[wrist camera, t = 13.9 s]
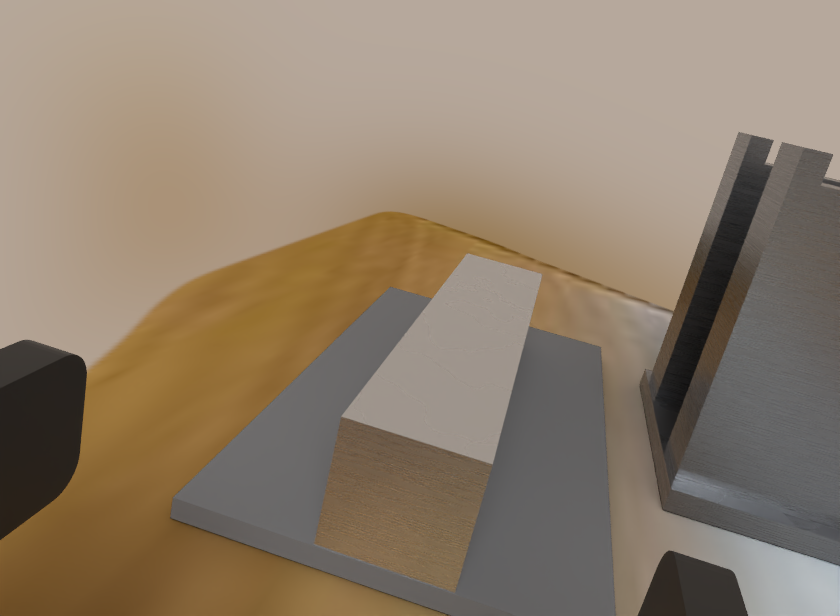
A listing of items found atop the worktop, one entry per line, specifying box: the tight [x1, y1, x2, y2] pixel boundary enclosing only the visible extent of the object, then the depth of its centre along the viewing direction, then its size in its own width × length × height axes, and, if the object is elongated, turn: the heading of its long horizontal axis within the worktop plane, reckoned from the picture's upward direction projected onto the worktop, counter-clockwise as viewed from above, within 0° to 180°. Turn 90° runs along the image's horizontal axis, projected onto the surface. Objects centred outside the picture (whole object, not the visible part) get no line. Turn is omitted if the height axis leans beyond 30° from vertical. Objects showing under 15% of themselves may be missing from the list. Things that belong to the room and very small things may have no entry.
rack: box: [640, 132, 840, 565], centre depth 26 cm, size 11×7×12 cm, turn 167°
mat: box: [170, 287, 616, 616], centre depth 27 cm, size 21×11×1 cm, turn 167°
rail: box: [314, 253, 542, 593], centre depth 25 cm, size 18×4×4 cm, turn 167°
